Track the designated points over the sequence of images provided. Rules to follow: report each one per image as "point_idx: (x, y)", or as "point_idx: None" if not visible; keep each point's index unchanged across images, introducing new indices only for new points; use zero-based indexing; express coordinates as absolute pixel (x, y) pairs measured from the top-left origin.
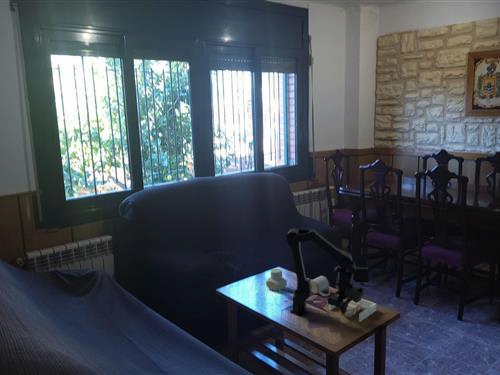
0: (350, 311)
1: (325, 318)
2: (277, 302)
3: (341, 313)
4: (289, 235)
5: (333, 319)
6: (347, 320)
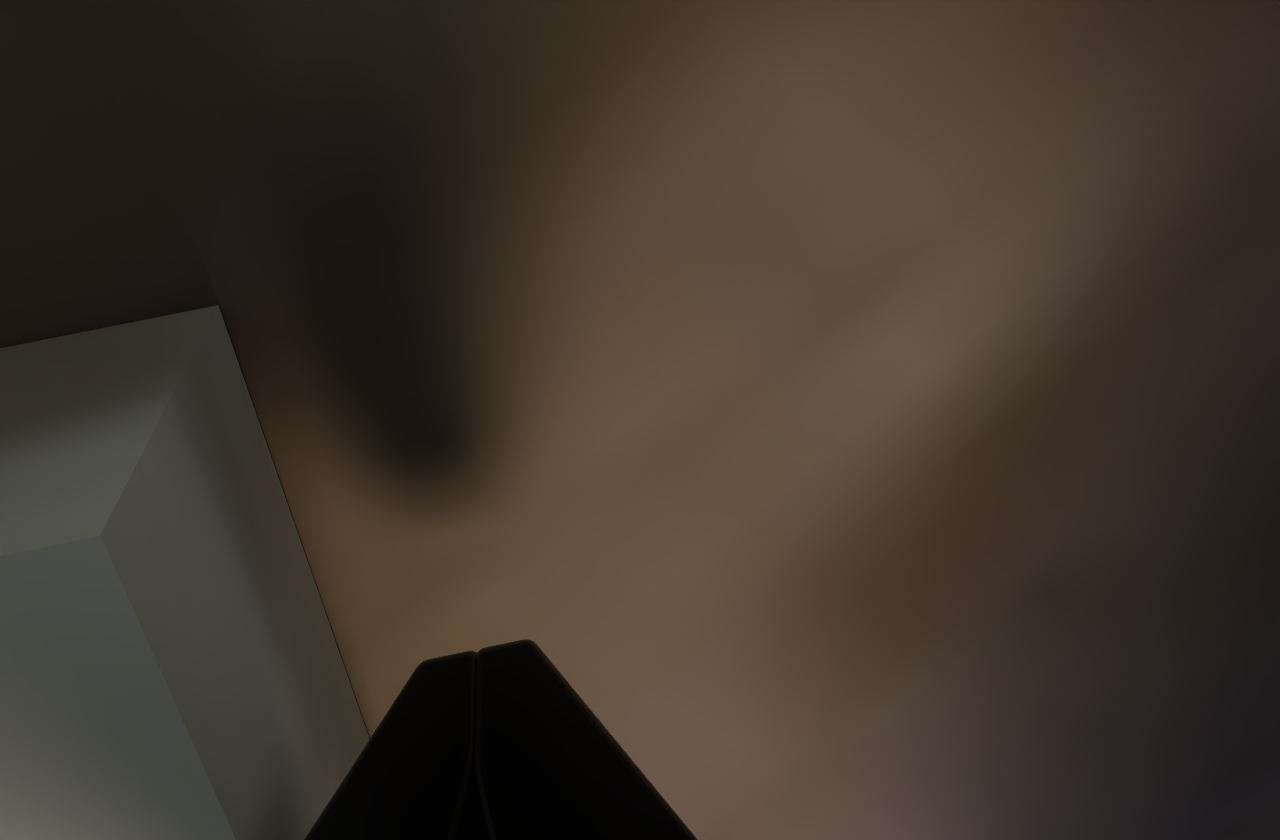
0: (121, 512)
1: (1261, 820)
2: None
3: None
4: None
5: (1131, 613)
6: (703, 124)
